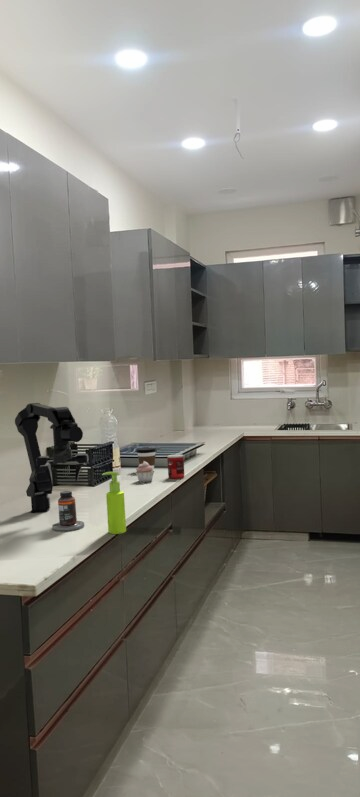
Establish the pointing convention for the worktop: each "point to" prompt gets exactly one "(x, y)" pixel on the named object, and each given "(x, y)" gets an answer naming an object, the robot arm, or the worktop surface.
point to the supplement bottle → (67, 508)
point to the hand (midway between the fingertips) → (64, 482)
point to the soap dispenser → (115, 506)
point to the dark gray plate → (68, 526)
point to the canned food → (175, 466)
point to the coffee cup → (147, 456)
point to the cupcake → (144, 472)
